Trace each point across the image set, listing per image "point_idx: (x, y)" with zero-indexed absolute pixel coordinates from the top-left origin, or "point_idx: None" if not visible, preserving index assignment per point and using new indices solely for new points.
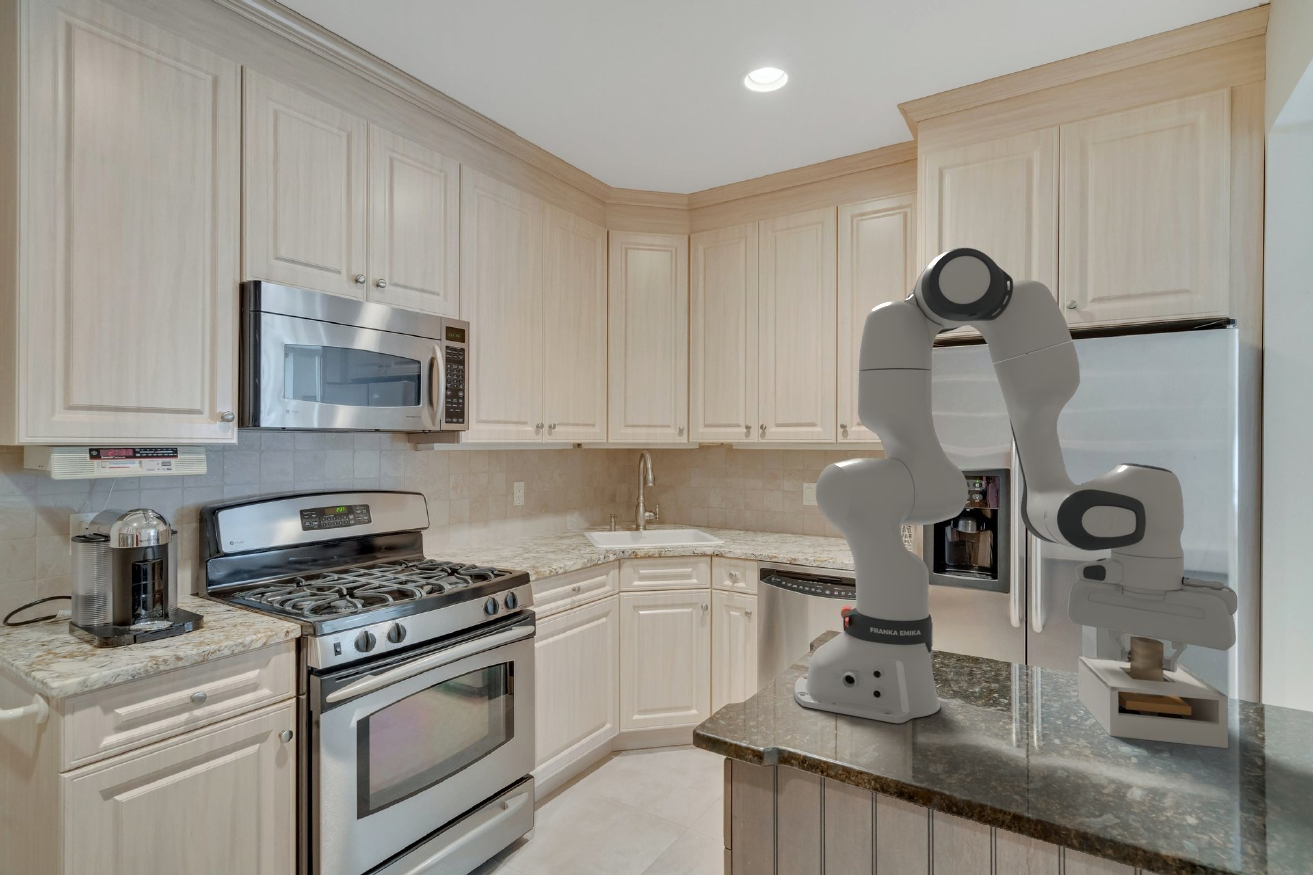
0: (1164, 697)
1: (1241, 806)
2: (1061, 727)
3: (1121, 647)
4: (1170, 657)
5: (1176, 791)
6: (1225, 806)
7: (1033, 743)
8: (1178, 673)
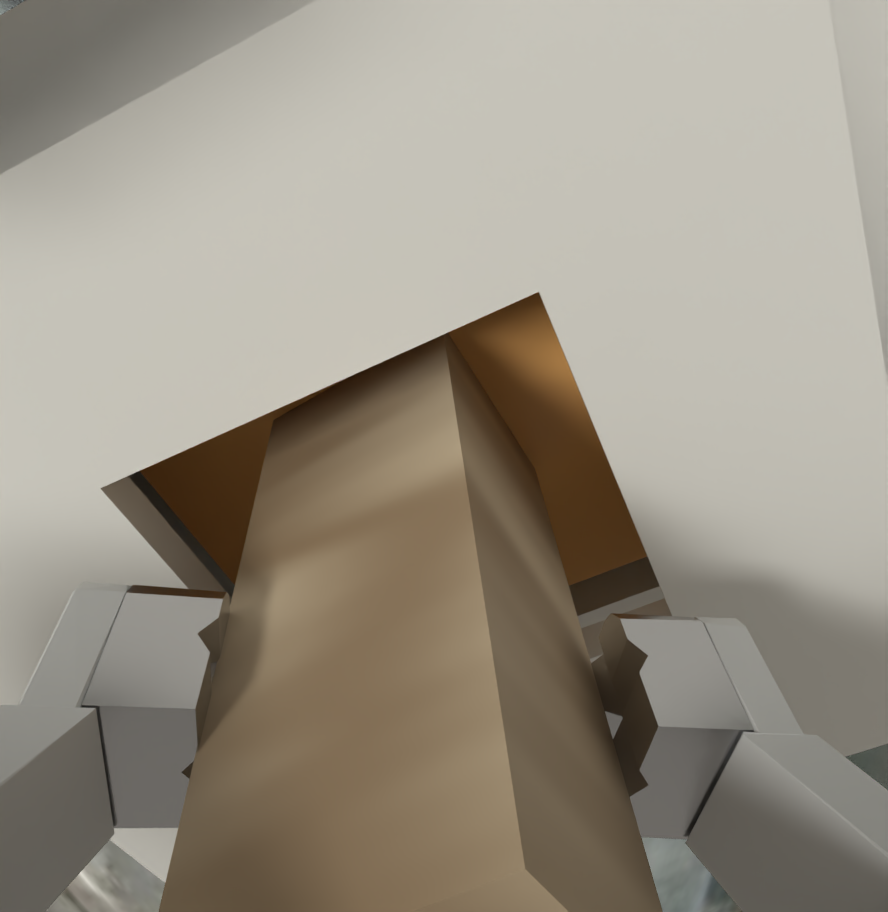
0: (541, 447)
1: (715, 882)
2: None
3: (85, 840)
4: (718, 748)
5: None
6: (672, 902)
7: (80, 880)
8: (747, 277)
